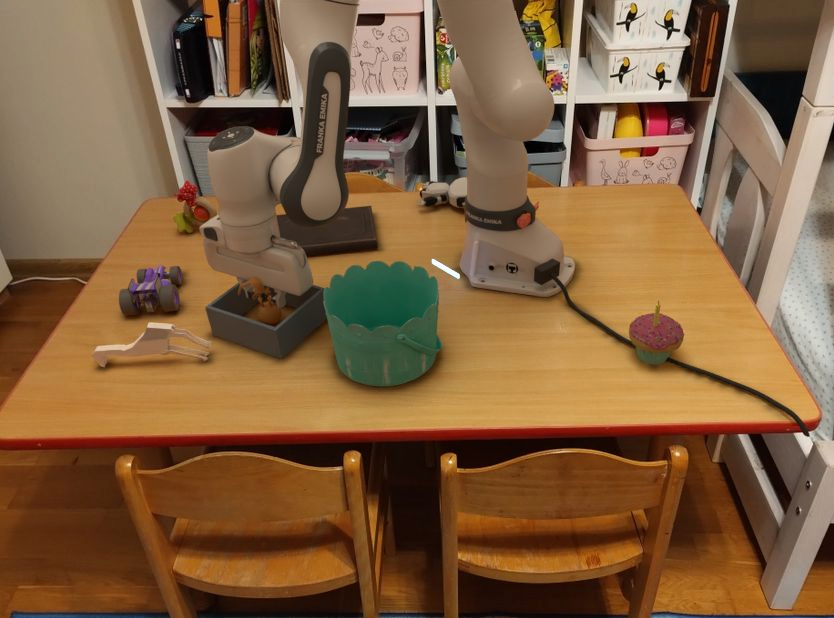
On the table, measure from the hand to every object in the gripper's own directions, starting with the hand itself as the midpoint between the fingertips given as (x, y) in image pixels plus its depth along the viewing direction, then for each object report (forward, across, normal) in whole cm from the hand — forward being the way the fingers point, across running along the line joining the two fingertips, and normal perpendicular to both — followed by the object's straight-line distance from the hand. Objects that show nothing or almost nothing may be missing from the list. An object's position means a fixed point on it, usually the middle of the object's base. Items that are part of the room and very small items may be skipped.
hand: (266, 301), depth 124 cm
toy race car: (+6, +26, +2) cm, 27 cm away
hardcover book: (+5, +11, -30) cm, 33 cm away
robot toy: (+5, -7, -56) cm, 57 cm away
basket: (+5, -23, -2) cm, 24 cm away
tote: (+5, 0, 0) cm, 5 cm away
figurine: (+5, 0, 0) cm, 5 cm away
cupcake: (+5, -62, -21) cm, 66 cm away
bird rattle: (+6, +38, -22) cm, 44 cm away
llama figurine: (+6, +11, +17) cm, 21 cm away
